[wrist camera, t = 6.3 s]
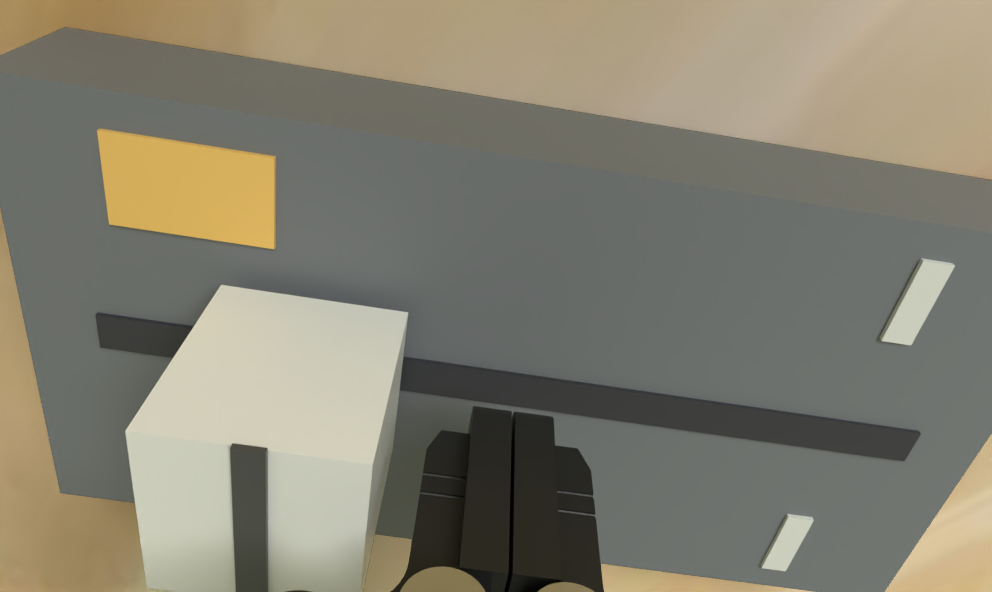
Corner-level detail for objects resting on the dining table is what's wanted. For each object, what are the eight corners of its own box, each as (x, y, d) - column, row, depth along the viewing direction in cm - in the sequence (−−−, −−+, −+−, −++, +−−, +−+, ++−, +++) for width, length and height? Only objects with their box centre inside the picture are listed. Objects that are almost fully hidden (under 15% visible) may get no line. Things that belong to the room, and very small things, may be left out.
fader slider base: (65, 27, 15) (-33, 70, 12) (1020, 184, 16) (1117, 255, 14) (118, 409, 20) (58, 496, 18) (836, 507, 21) (880, 603, 19)
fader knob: (220, 282, 14) (121, 433, 11) (408, 310, 14) (371, 466, 11) (227, 427, 16) (144, 595, 12) (392, 449, 16) (356, 621, 13)
